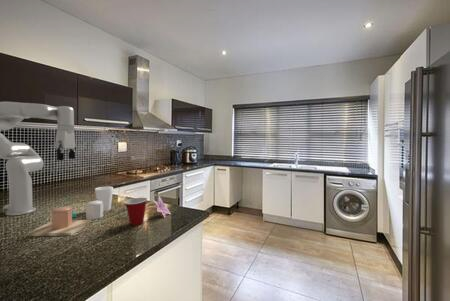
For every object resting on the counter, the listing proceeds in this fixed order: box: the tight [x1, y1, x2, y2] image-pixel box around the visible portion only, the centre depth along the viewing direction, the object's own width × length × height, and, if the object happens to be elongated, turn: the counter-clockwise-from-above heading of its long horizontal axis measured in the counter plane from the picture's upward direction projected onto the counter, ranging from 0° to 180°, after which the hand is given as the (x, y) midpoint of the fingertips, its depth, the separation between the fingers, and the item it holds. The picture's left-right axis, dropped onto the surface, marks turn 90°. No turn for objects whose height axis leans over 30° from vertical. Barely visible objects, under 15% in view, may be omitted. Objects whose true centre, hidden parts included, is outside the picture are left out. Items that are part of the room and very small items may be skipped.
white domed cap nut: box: [85, 200, 104, 221], centre depth 116 cm, size 7×7×8 cm
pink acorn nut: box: [50, 206, 73, 229], centre depth 101 cm, size 7×7×8 cm
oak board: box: [26, 219, 92, 237], centre depth 101 cm, size 18×16×1 cm
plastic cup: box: [123, 197, 148, 226], centre depth 108 cm, size 11×11×12 cm
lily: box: [153, 195, 171, 218], centre depth 120 cm, size 12×12×10 cm
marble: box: [72, 210, 77, 219], centre depth 115 cm, size 3×3×3 cm
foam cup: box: [94, 186, 114, 212], centre depth 129 cm, size 10×9×13 cm
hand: (66, 159), depth 122 cm, fingers open, 9 cm apart
